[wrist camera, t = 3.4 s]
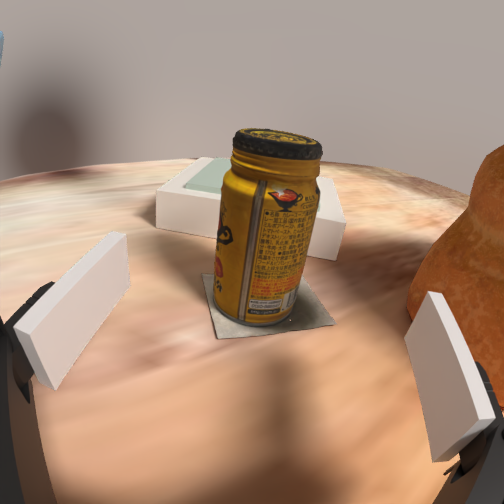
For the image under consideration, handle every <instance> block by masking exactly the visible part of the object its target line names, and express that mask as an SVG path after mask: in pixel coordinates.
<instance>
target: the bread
mask: <svg viewBox="0 0 504 504" xmlns="http://www.w3.org/2000/svg"><path fill="white" fill-rule="evenodd" d="M428 291H431V292H436V293H442V295H443V297H444V298H445V300H446V302H447V304H448V306H449V308H450V310H451V312H452V314H453V316H454V318H455V320H456V322H457V324H458V326H459V329H460V331H461V333H462V335H463V337H464V339H465V341H466V344H467V346H468V348H469V350H470V353H471V355H472V357H473V360H474V361H478V362H479V363H480V364H481V366H482V367H483V368H484V369H485V371H486V373H487V375H488V378H489V380H490V383H491V385H492V388H493V392H494V393H495V395H496V398H497V400H498V403H499V406H501V407H504V145H503V146H501V147H499V148H497V149H496V150H494V151H493V152H491V153H490V154H488V155H487V156H486V158H485V159H484V161H483V163H482V164H481V166H480V168H479V170H478V172H477V174H476V176H475V180H474V183H473V187H472V190H471V194H470V200H469V205H468V208H467V209H466V210H465V211H464V212H463V213H462V214H461V215H460V216H459V217H458V219H457V220H456V221H455V222H454V223H453V224H452V225H451V226H450V227H449V228H448V229H447V230H446V231H445V232H444V233H443V234H442V235H441V237H440V238H439V239H438V240H437V241H436V242H435V243H434V244H433V245H432V247H431V249H430V250H429V252H428V253H427V255H426V257H425V258H424V260H423V261H422V263H421V265H420V267H419V269H418V271H417V273H416V275H415V277H414V279H413V281H412V283H411V285H410V287H409V292H408V300H407V309H408V312H409V314H410V317H411V319H412V320H414V318H415V316H416V314H417V312H418V310H419V308H420V306H421V304H422V302H423V300H424V298H425V296H426V294H427V292H428Z"/></svg>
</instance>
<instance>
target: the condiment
mask: <svg viewBox="0 0 504 504" xmlns="http://www.w3.org/2000/svg"><path fill="white" fill-rule="evenodd" d="M232 153H233V155H232V156H231V159H230V162H231V165H232V166H231V168H230V169H229V170H228V171H226V173H225V175H224V177H223V184H222V187H221V201H220V212H219V224H218V230H217V245H216V254H215V262H214V265H215V267H214V268H215V271H214V274H203V273H201V274H202V278H203V283H204V287H205V291H206V295H207V300H208V304H209V307H210V311H211V315H212V318H213V322H214V325H215V329H216V333H217V337H218V339H222V338H237V337H249V336H261V335H268V334H276V333H281V332H288V331H291V330H303V329H312V328H317V327H321V326H325V325H334V324H337V323H336V322H335V321H334V319H333V318H332V317H331V316H330V315H329V313H328V312H327V310H326V309H325V307H324V306H323V305H322V304H321V302H320V301H319V299H318V298H317V296H316V295H315V293H314V292H313V291H312V289H311V287H310V286H309V284H308V282H307V281H306V280H305V279H304V276H303V275H302V273H303V269H304V265H305V261H306V257H307V253H308V248H309V244H310V240H311V236H312V231H313V227H314V222H315V218H316V214H317V210H318V205H319V201H320V194H321V193H320V189H319V187H318V185H317V181H316V178H317V177H318V176H319V173H320V164H319V162H320V159H321V156H322V155H323V151H322V146H321V144H320V143H319V142H318V141H316V140H314V139H311V138H308V137H305V136H302V135H297V134H293V133H288V132H284V131H277V130H270V129H256V128H250V129H241V130H239V131H237V132H236V134H235V137H234V138H233V151H232ZM290 320H291V321H290Z"/></svg>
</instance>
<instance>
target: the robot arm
mask: <svg viewBox="0 0 504 504" xmlns="http://www.w3.org/2000/svg"><path fill="white" fill-rule="evenodd" d="M3 41H4V37H3V32H2V31H0V65H1V58H2V50H3ZM129 287H130V276H129V264H128V252H127V236H126V234H124V233H119V232H114V231H111V232H110V233H109V234H108V235H107V236H105V237H104V238H103V239H102V240H101V241H100V242H99V243H98V244H96V245H95V246H94V247H93V248H92V249H91V250H90V251H89V252H88V253H86V254H85V255H84V256H83V257H82V258H81V259H80V260H79V261H78V262H77V263H76V264H75V265H74V266H72V267H71V268H70V269H69V270H68V271H67V272H66V273H65V274H64V275H63V276H62V277H61V278H60V279H59V280H58V281H57V282H56V283H55V282H52V281H51V282H49V283H47V284H46V285H44V286H42V287H40V288H39V289H38V290H37V291H36V292H35V293H34V294H33V295H32V297H30V298H29V299H28V300H27V301H26V303H25V304H23V305H22V306H21V307H20V308H19V309H18V310H17V311H16V312H15V313H14V314H13V315H12V316H11V317H10V319H9V320H8V321H7V322H6V323H5V324H3V321H2V319H1V316H0V504H57V502H56V499H55V495H54V492H53V489H52V485H51V482H50V478H49V474H48V470H47V466H46V462H45V458H44V453H43V449H42V444H41V439H40V434H39V429H38V423H37V417H36V410H35V403H34V395H33V387H32V382H31V380H30V378H31V376H32V375H33V374H34V373H35V375H36V377H37V379H38V381H39V383H41V384H43V385H45V386H47V387H49V388H51V389H53V390H55V391H56V389H57V388H58V386H59V385H60V383H61V382H62V380H63V379H64V377H65V376H66V374H67V373H68V371H69V370H70V368H71V367H72V365H73V364H74V362H75V361H76V360H77V358H78V357H79V355H80V354H81V352H82V351H83V350H84V348H85V347H86V345H87V344H88V343H89V341H90V340H91V338H92V337H93V336H94V334H95V333H96V331H97V330H98V329H99V327H100V326H101V325H102V323H103V322H104V320H105V319H106V318H107V316H108V315H109V314H110V312H111V311H112V310H113V308H114V307H115V306H116V304H117V303H118V302H119V300H120V299H121V298H122V296H123V295H124V294H125V293H126V291H127V290H128V289H129ZM404 339H405V343H406V346H407V350H408V353H409V357H410V361H411V364H412V368H413V372H414V376H415V380H416V384H417V388H418V392H419V397H420V401H421V405H422V410H423V415H424V419H425V424H426V429H427V434H428V440H429V445H430V451H431V457H432V463H433V462H443V461H449V460H451V459H452V458H453V457H454V456H456V455H457V454H458V453H459V456H460V460H459V461H458V462H457V463H455V464H454V465H453V466H452V467H450V468H449V469H448V470H446V472H445V473H444V474H443V475H447V474H448V473H449V472H451V473H450V475H449V477H448V479H447V480H446V482H445V484H444V486H443V487H442V489H441V491H440V492H439V494H438V496H437V497H436V499H435V500H434V502H433V504H504V417H503V414H502V411H501V409H500V406H499V403H498V400H497V398H496V395H495V393H494V392H493V388H492V385H491V383H490V380H489V378H488V375H487V373H486V371H485V369H484V368H483V367H482V366H481V364H480V363H479V362H478V361H474V360H473V357H472V355H471V353H470V350H469V348H468V346H467V344H466V341H465V339H464V337H463V335H462V333H461V331H460V329H459V326H458V324H457V322H456V320H455V318H454V316H453V314H452V312H451V310H450V308H449V306H448V304H447V302H446V300H445V298H444V297H443V295H442V293H436V292H431V291H428V292H427V294H426V296H425V298H424V300H423V302H422V304H421V306H420V308H419V310H418V312H417V314H416V316H415V318H414V320H413V322H412V324H411V326H410V328H409V330H408V332H407V334H406V335H405V337H404Z"/></svg>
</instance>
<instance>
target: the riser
mask: <svg viewBox="0 0 504 504" xmlns="http://www.w3.org/2000/svg"><path fill="white" fill-rule="evenodd" d="M231 166H232V165H231V162H230V159H225V158H218V157H216V158H215V159H213V158H205V157H200V158H199V159H197V160H196V161H195V162H193V163H192V164H191V165H189V166H188V167H186V168H185V169H184V170H182V171H181V172H180V173H178V174H177V175H176V176H174V177H173V178H172V179H170V180H169V181H168V182H166V183H165V184H164V185H162V186H161V187H160V188H158V189H157V190H156V228H160V229H166V230H171V231H177V232H182V233H188V234H193V235H199V236H204V237H210V238H215V239H217V230H218V224H219V212H220V201H221V187H222V184H223V177H224V175H225V173H226V171H228V170H229V169H230V168H231ZM316 181H317V185H318V187H319V189H320V193H321V194H320V201H319V205H318V210H317V214H316V218H315V222H314V227H313V231H312V236H311V240H310V244H309V248H308V253H307V256H312V257H317V258H323V259H328V260H333V261H336V258H337V255H338V252H339V248H340V245H341V241H342V237H343V234H344V230H345V227H346V220H345V217H344V214H343V210H342V207H341V204H340V201H339V198H338V194H337V191H336V188H335V185H334V182H333V179H330V178H325V177H320V176H318V177H317V178H316Z"/></svg>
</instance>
